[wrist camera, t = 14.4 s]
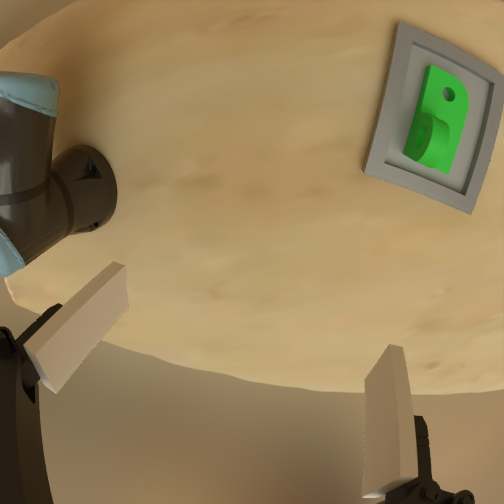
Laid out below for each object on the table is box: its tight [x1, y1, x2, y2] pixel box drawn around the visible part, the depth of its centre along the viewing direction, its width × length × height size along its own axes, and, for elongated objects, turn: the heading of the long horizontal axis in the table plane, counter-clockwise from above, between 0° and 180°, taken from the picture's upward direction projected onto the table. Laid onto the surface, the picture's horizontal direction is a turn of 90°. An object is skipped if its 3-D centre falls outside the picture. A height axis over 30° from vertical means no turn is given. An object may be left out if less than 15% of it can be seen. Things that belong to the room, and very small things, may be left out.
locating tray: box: [362, 21, 504, 215], centre depth 27 cm, size 16×20×2 cm
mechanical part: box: [403, 65, 469, 175], centre depth 24 cm, size 12×6×8 cm, turn 168°
